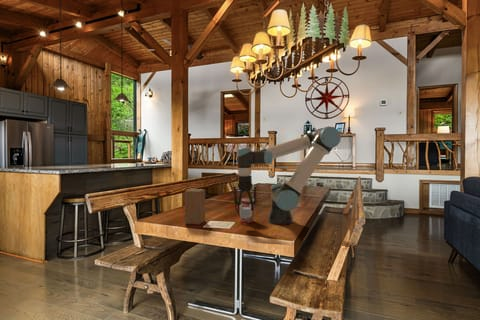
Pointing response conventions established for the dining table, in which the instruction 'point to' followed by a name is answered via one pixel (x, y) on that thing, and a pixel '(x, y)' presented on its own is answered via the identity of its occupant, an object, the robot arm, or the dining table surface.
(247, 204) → the mug
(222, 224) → the letter
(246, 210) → the cube
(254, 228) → the dining table surface
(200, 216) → the wooden block
